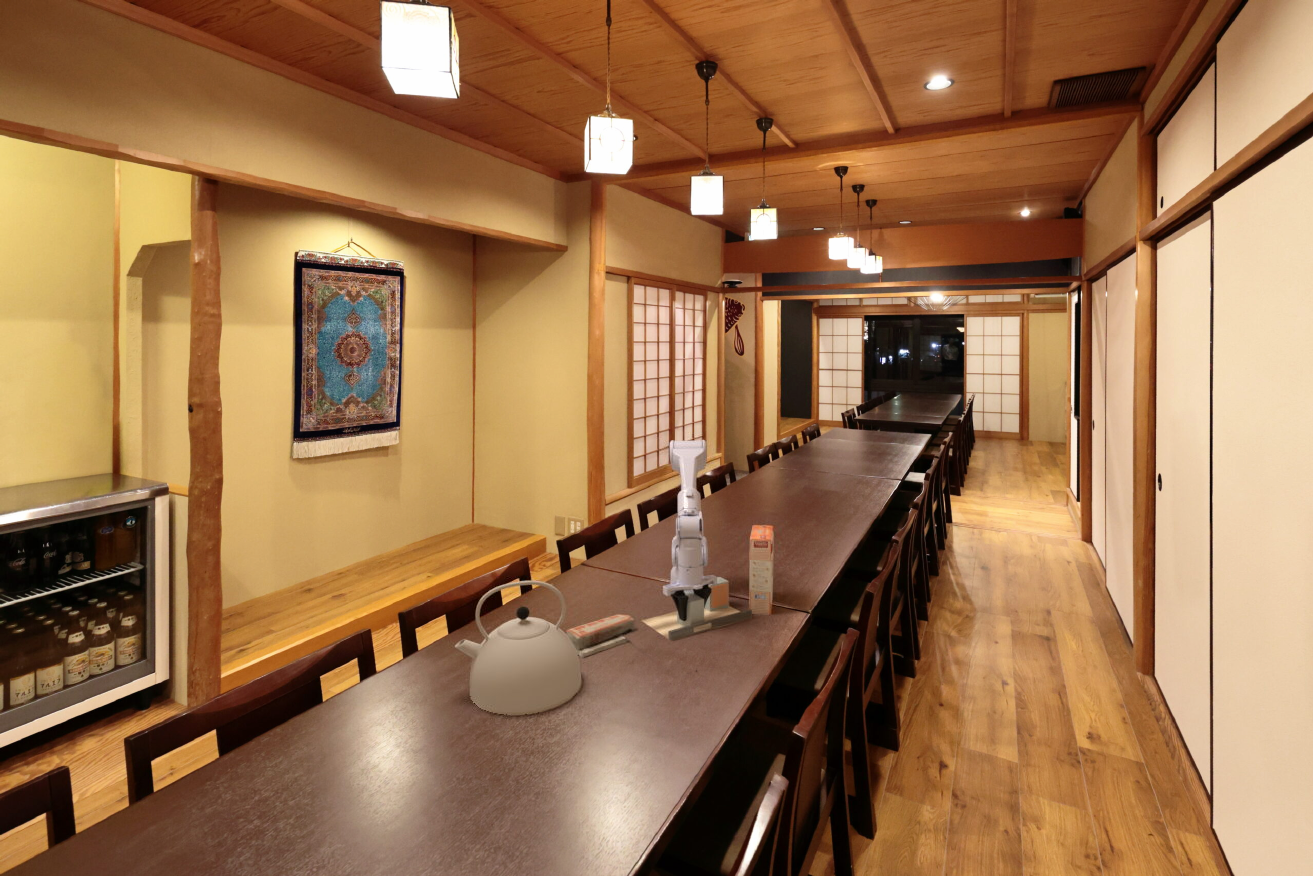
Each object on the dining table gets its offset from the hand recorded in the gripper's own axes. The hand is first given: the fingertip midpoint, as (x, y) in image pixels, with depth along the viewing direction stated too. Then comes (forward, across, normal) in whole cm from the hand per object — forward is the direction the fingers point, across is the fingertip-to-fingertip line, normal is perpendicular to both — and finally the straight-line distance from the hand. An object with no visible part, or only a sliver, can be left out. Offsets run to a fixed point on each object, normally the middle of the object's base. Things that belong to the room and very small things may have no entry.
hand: (690, 617), depth 165 cm
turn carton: (+2, 0, 0) cm, 2 cm away
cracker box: (+3, +23, +1) cm, 23 cm away
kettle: (+3, -45, -4) cm, 45 cm away
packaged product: (+4, -21, +7) cm, 22 cm away
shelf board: (+3, +3, +2) cm, 5 cm away
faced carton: (+2, +11, +6) cm, 13 cm away
